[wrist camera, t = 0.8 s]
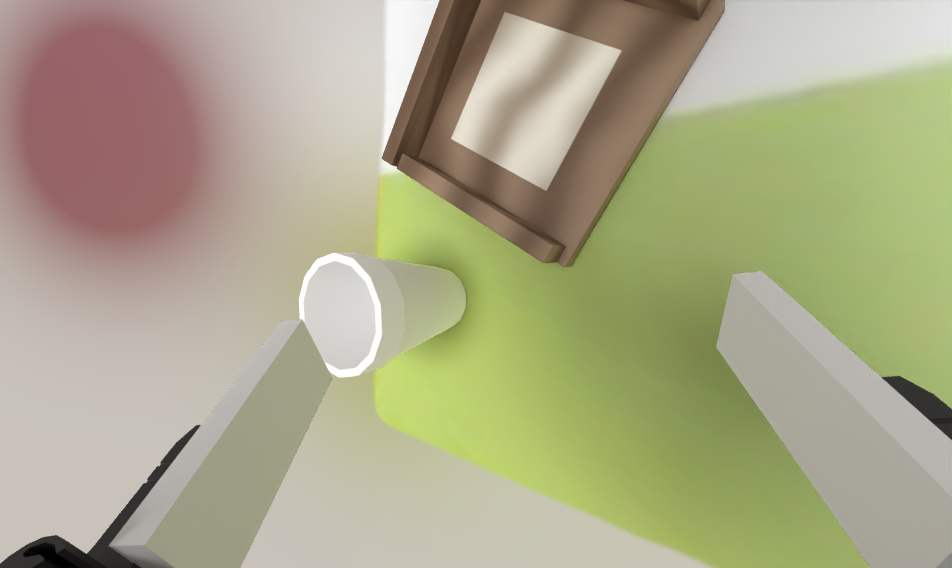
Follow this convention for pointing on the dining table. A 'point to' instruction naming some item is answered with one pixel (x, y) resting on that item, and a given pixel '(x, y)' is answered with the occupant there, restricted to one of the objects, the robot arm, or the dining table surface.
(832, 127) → the dining table surface
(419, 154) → the tray
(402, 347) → the foam cup
